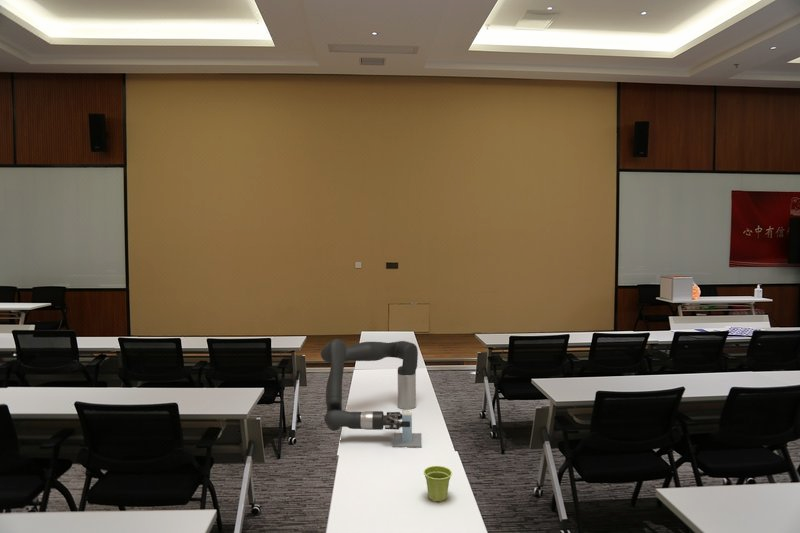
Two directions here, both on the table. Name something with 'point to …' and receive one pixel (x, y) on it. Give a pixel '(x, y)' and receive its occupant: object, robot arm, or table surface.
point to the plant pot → (437, 482)
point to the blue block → (407, 430)
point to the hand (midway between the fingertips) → (410, 420)
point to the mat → (414, 443)
